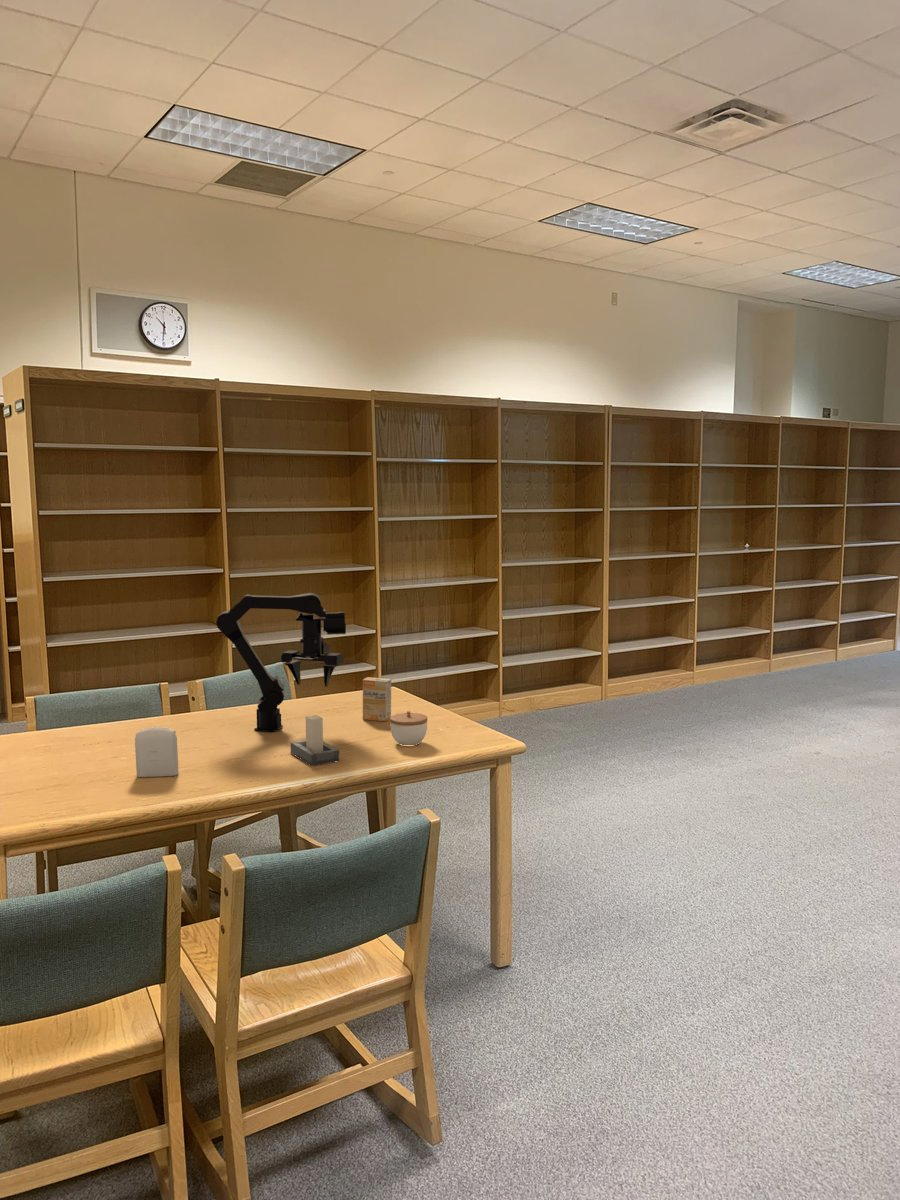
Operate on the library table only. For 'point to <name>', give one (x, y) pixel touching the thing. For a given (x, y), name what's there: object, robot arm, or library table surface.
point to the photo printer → (156, 752)
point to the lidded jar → (408, 727)
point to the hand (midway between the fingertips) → (312, 685)
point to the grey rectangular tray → (314, 758)
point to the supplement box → (376, 699)
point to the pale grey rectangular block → (314, 733)
